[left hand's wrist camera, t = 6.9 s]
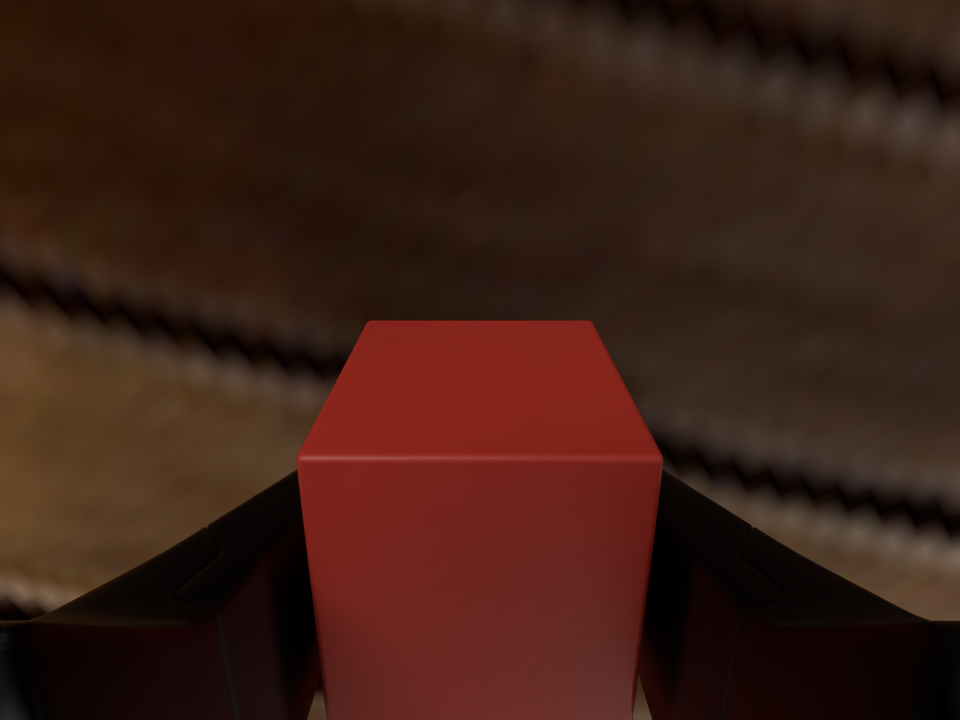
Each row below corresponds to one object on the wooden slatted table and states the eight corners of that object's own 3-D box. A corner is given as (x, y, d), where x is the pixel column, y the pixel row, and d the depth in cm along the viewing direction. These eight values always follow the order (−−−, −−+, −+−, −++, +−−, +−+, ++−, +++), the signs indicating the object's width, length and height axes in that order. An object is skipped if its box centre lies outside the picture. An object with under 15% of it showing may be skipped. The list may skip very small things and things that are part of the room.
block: (592, 318, 12) (666, 457, 7) (577, 538, 13) (629, 763, 9) (366, 318, 12) (292, 456, 7) (381, 538, 13) (329, 764, 9)
